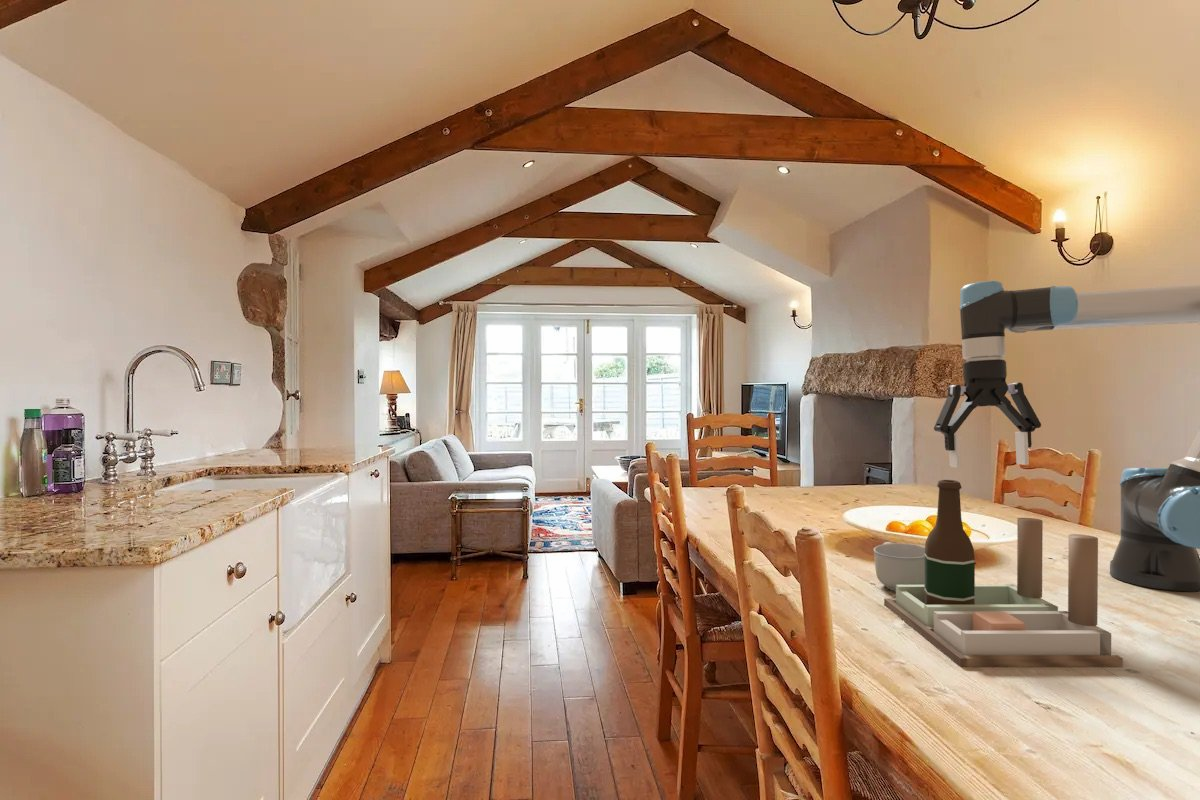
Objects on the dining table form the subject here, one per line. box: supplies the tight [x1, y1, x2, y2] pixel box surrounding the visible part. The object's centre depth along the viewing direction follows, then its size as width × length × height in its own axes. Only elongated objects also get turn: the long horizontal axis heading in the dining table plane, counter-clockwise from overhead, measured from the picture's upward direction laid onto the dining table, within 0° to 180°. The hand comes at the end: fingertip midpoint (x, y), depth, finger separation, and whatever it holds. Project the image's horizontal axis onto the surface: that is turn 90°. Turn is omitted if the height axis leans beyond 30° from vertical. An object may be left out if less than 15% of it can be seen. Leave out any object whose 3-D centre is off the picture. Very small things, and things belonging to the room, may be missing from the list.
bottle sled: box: [895, 517, 1059, 627], centre depth 112 cm, size 22×12×17 cm, turn 89°
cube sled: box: [934, 533, 1112, 655], centre depth 100 cm, size 22×9×17 cm, turn 89°
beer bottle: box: [924, 479, 976, 605], centre depth 112 cm, size 8×8×24 cm
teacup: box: [873, 541, 925, 592], centre depth 131 cm, size 14×11×8 cm
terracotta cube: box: [973, 612, 1025, 631], centre depth 100 cm, size 5×5×5 cm
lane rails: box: [883, 597, 1124, 668], centre depth 107 cm, size 23×26×1 cm
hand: (989, 466), depth 131 cm, fingers open, 13 cm apart
